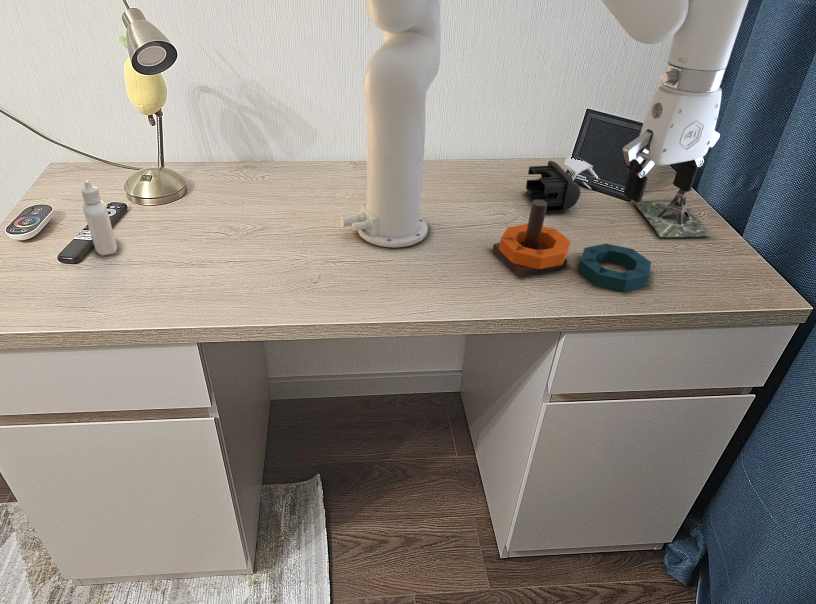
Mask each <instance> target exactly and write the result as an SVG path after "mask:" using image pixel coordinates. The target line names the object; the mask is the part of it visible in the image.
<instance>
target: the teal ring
mask: <svg viewBox="0 0 816 604" xmlns="http://www.w3.org/2000/svg"><path fill="white" fill-rule="evenodd" d="M605 262H608V263H612V264H617V265H622V266H624V268H626V269H627V271H618V270H613V269H609V268H605V267H604V266H603V265H601V263H605ZM651 265H652V261H650V260H649V259H647V258H646V257H645V256H644V255H642V254H641V253H639V252H638V251H637V250H635V249H633V248H631V247H625V246H621V245H615V244H611V243H602V244H596V245H592V246H587V247H584V248H583V252H582V255H581V258H580V261H579V265H578V269H577V272H578V273H579V274H580V275H581V276H583V277H584V278H585V279H586V280H587V281H589V282H590V283H591V284H593V285H594V286H596V287H600V288H605V289H609V290H614V291H618V292H623V293H625V292H628V291H632V290H636V289H642V288H645V287H646V286H647V283H648V281H649V278H650V275H651V267H652V266H651Z"/></svg>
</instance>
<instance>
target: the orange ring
mask: <svg viewBox="0 0 816 604" xmlns="http://www.w3.org/2000/svg"><path fill="white" fill-rule="evenodd" d="M527 226H528V223H525V224H519V225H518V224H517V225H513V226H508V227H506V229H505V231H504V232H503V234H502V236H501V238H500V239H499V240H500V241H499V243H500V246H499V250H500V251H501V252H502V253H503V254H504V255H505V256H506V257H507V258H508V259H509V260H510V261H511V262H512V263H515V264H519V265H523V266H527V267H531V268H536V269H544V268H549V267H554V266H559V265H563V263H564V260H565V258H566V259H567V255H568V252H569V250H570V249H569V248H570V244H571V240H570V239H568V238H567V237H566V236H564V234H562V233H561V232H560V231H558V230H557V229H556V228H554V227H548V226H544V225H543V227H542V232H541V237H540V241H539V243H541V244H545V245H546V246H548V247H549V248H550V249H545V250H535V249H530V248H526V247H523V246H522V245H521V244H519V243H521V242H525V237H526V231H527Z"/></svg>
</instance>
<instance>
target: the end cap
mask: <svg viewBox="0 0 816 604" xmlns="http://www.w3.org/2000/svg"><path fill="white" fill-rule="evenodd" d="M527 175H529V176H530V175H540V177H539V178H538V179H537V178H536V179H526V183H525V189H526V191H525V195H524V196H526V198H527V199H528V200H529V201H530V203H532V201H533V200H543V201H546V202H547V208H546V213H545V215H551V214H552V215H554V214H561V213H564V212H566V211H567V210H569V209H572V207H574V206H575V205H576V204H577V203H578V201H579V199H580V197H581V187H580V185H579V184H578V183H577V182H576V181H575V179H574V180H573V179H572V178H573V177H572V176H571V175H570V174H569V173H568V172H566V171H565V170H564V169H562V166H561V165H560V164H558V163H557V162H555V161H553V160H548V161H547V165H534V166H533V165H531V166H529V167H528V171H527Z"/></svg>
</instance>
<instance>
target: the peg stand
mask: <svg viewBox="0 0 816 604" xmlns="http://www.w3.org/2000/svg"><path fill="white" fill-rule="evenodd" d="M546 208H547V202H546V201H543V200H533V201H532V202H531V206H530V211H529V217H528V221H527V224H528V226H527V231H526V237H525V242H521V243H519V244H521V245H522V246H523V247H526V248H530V249H535V250H545V249H550V248H549V247H548V246H546V245H545V244H541V243H539V241H540V237H541V232H542V227H543V226H544V221H545V217H546V214H545V213H546ZM499 246H500V242H495V243H493V244H492V252H493V254H495V255H496V256H497V257H498V258H499V259H500V260H501V261H502V262H503V263H504V264H506V266H507V267H508V268H510V269H511V270H512V271H513V272H514V273H515V274H516V275H517V276H518V277H519V278H525V277H529V276H533V275H538V274H543V273H546V272H547V273H548V272H551V271H555V270H561V269H565V268H567V264H568V259H567V257H566V258H565V260H564V263H563V265H559V266H554V267H549V268H544V269H536V268H531V267H527V266H523V265H519V264H515V263H512V262H511V261H510V260H509V259H508V258H507V257H506V256H505V255H504V254H503V253H502V252H501V251H500V250H499Z"/></svg>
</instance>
